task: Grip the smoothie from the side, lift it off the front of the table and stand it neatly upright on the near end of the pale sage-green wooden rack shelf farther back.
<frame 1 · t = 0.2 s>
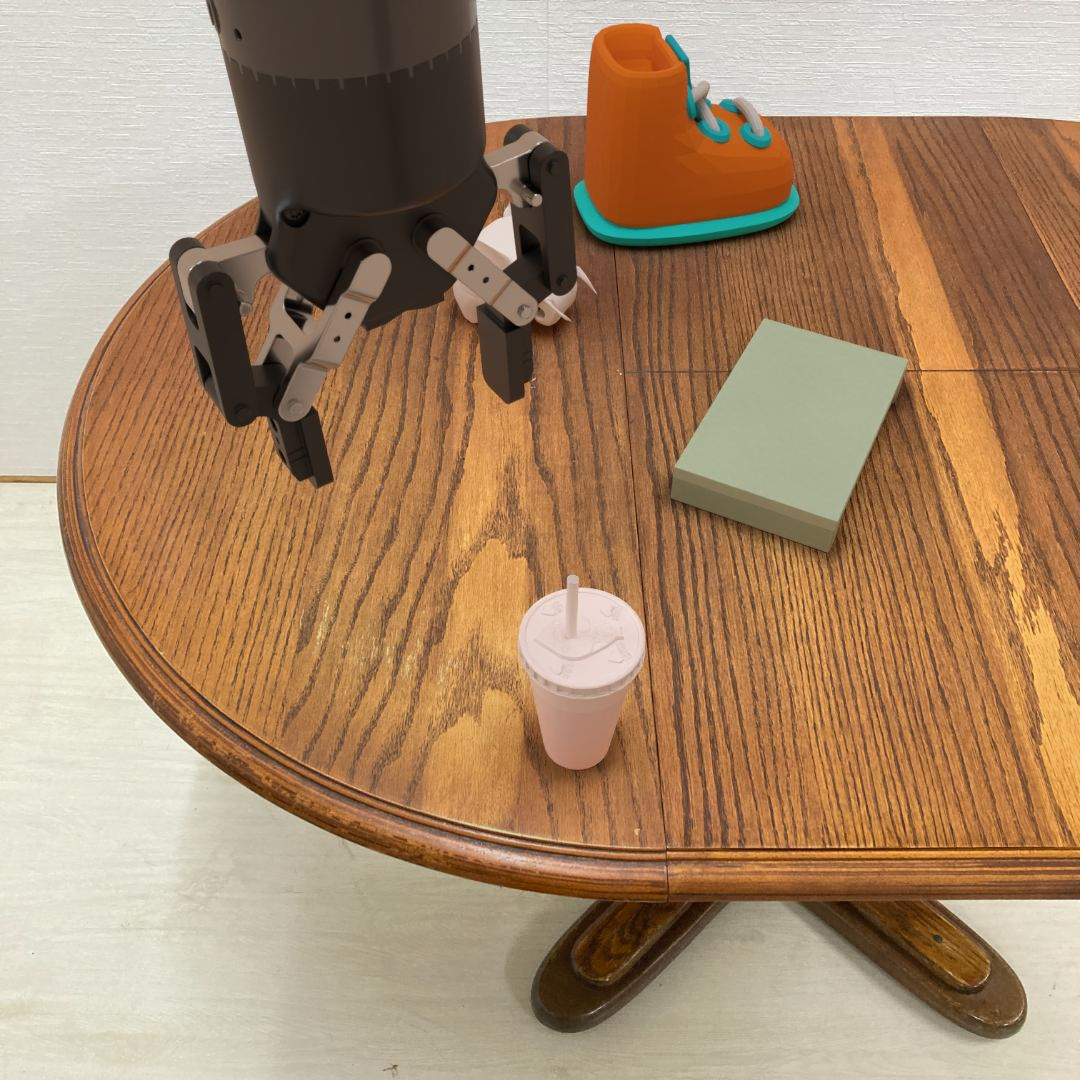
hand: (413, 431, 44), 24 cm above the table, tool pointing down, fingers open, 8 cm apart
smoothie: (576, 742, 62), on the table
elephant figurine: (517, 314, 89), on the table
rack shelf: (790, 442, 78), on the table
toy shoe: (685, 211, 99), on the table
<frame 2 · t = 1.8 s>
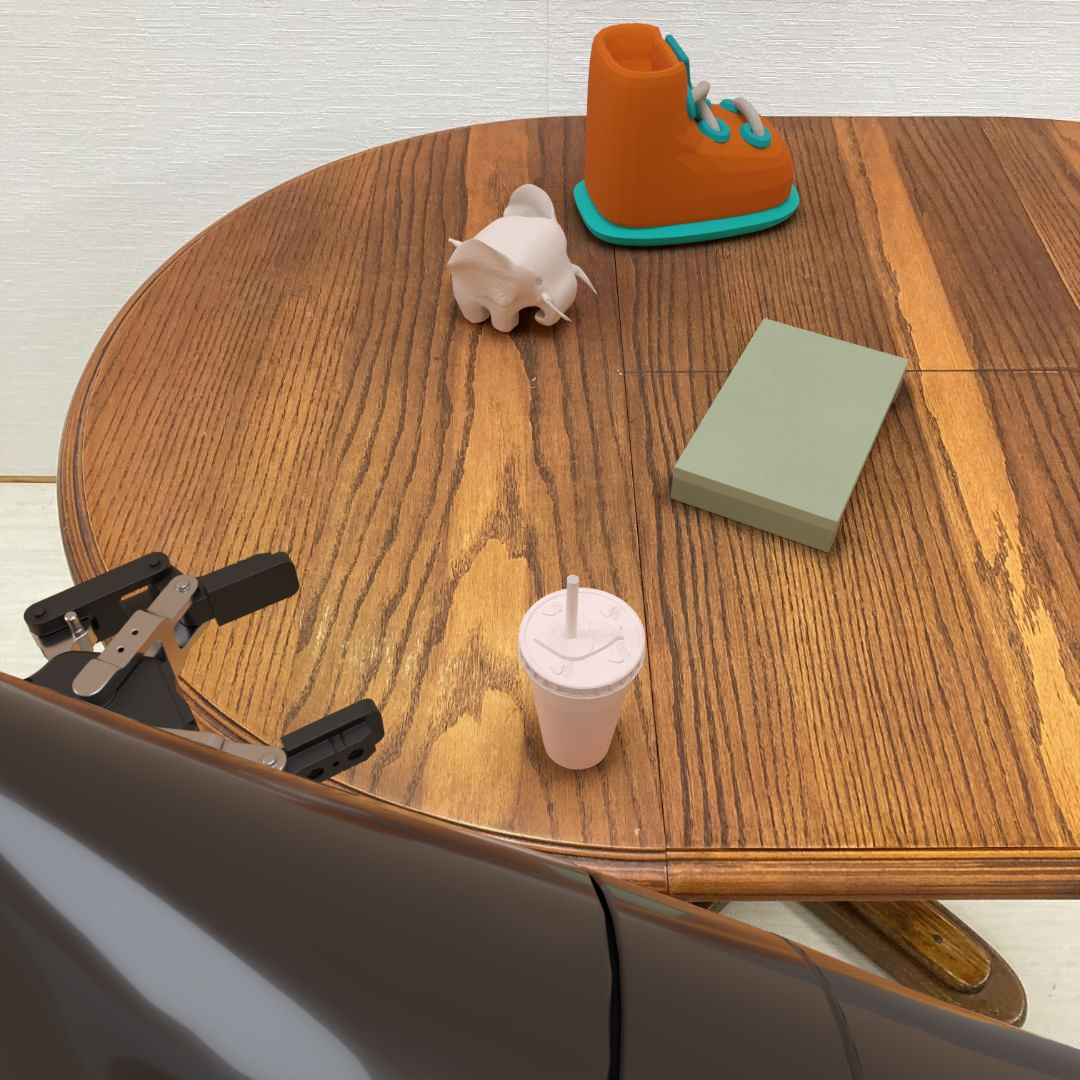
hand: (334, 639, 45), 17 cm above the table, tool horizontal, fingers open, 8 cm apart
nothing on the table moved.
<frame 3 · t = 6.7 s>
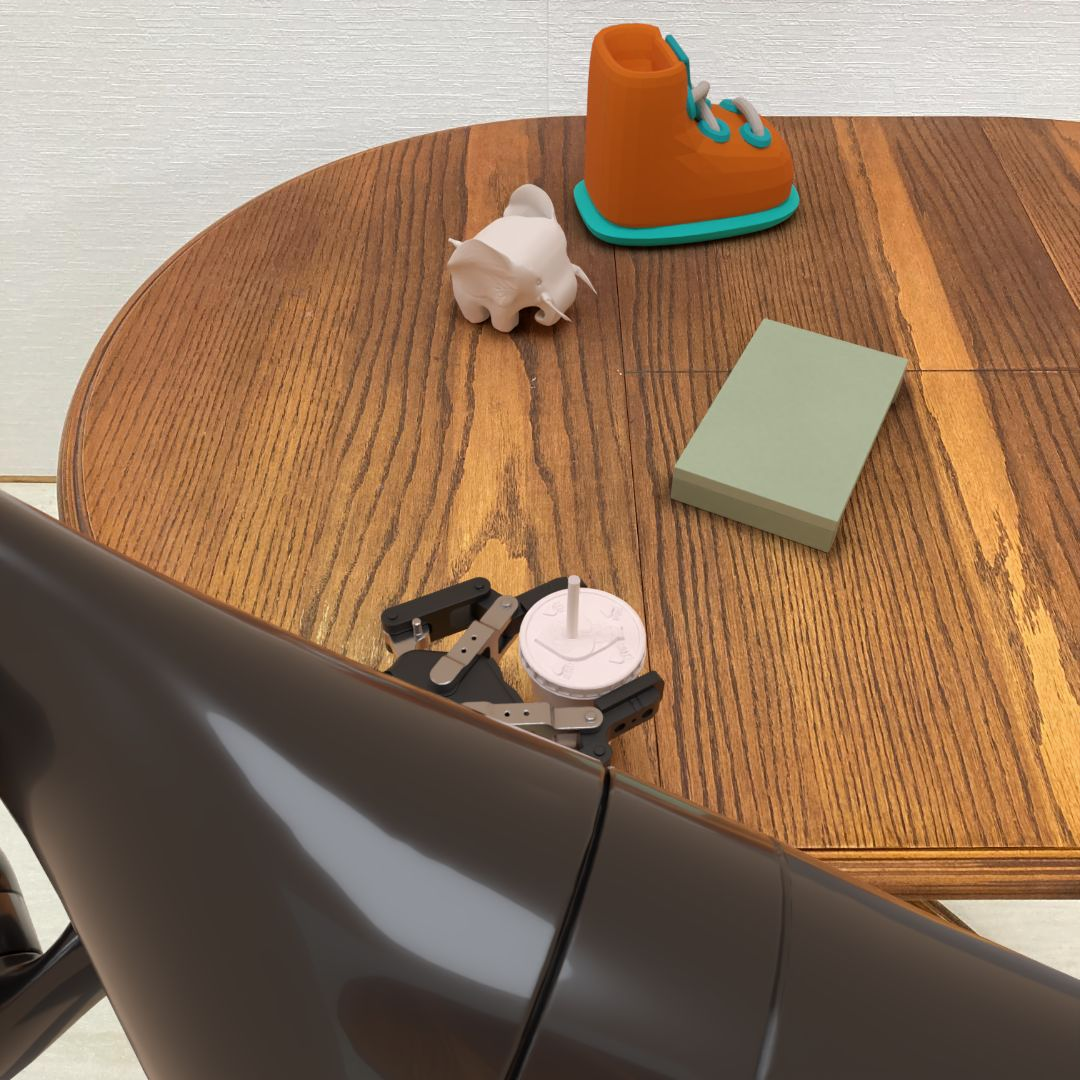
hand: (619, 636, 57), 8 cm above the table, tool horizontal, fingers closed on smoothie, 6 cm apart
smoothie: (576, 742, 62), on the table, touching gripper
everything else where it was.
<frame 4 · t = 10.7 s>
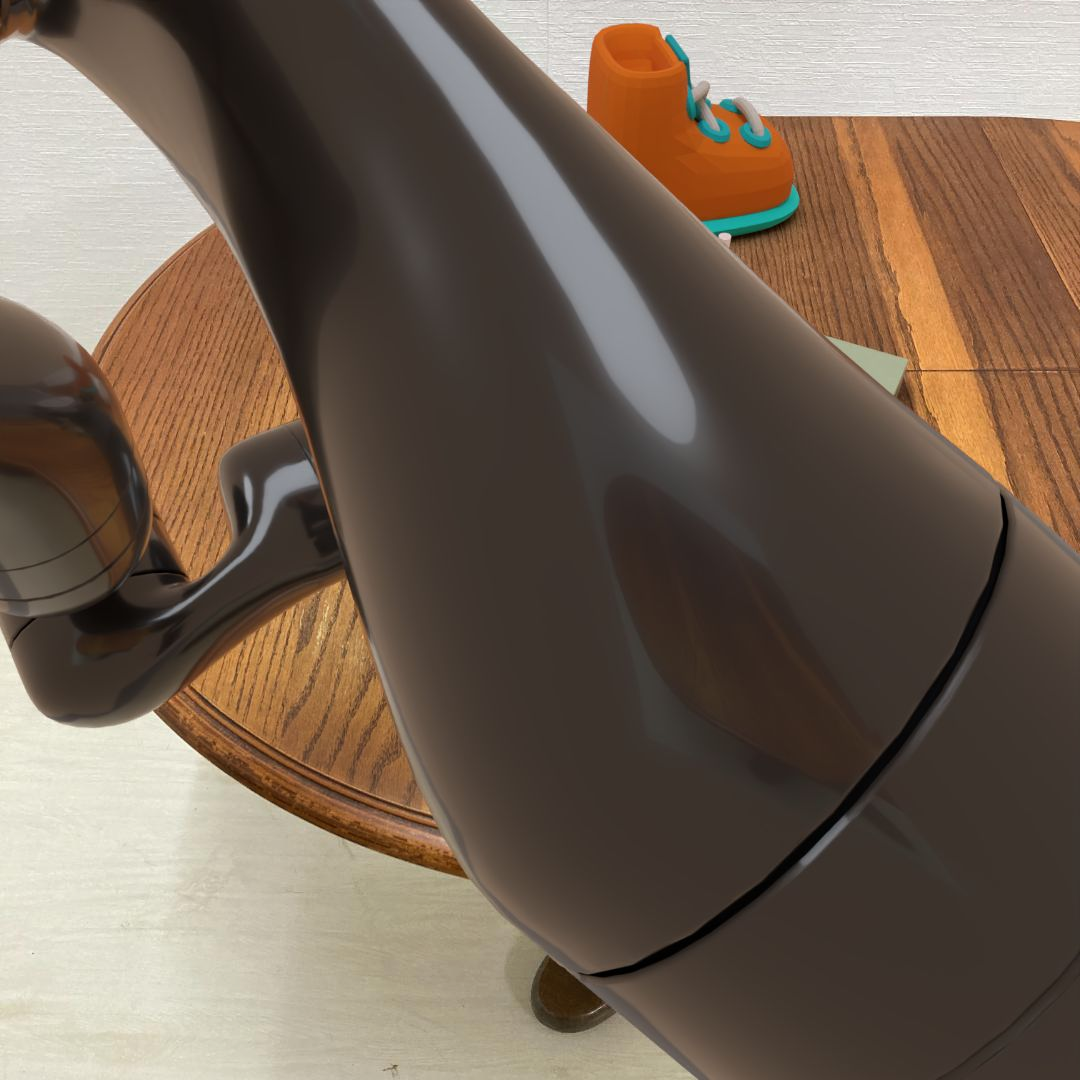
hand: (756, 328, 55), 20 cm above the table, tool horizontal, fingers closed on smoothie, 6 cm apart
smoothie: (699, 464, 60), point 11 cm above the table, touching gripper
everything else where it was.
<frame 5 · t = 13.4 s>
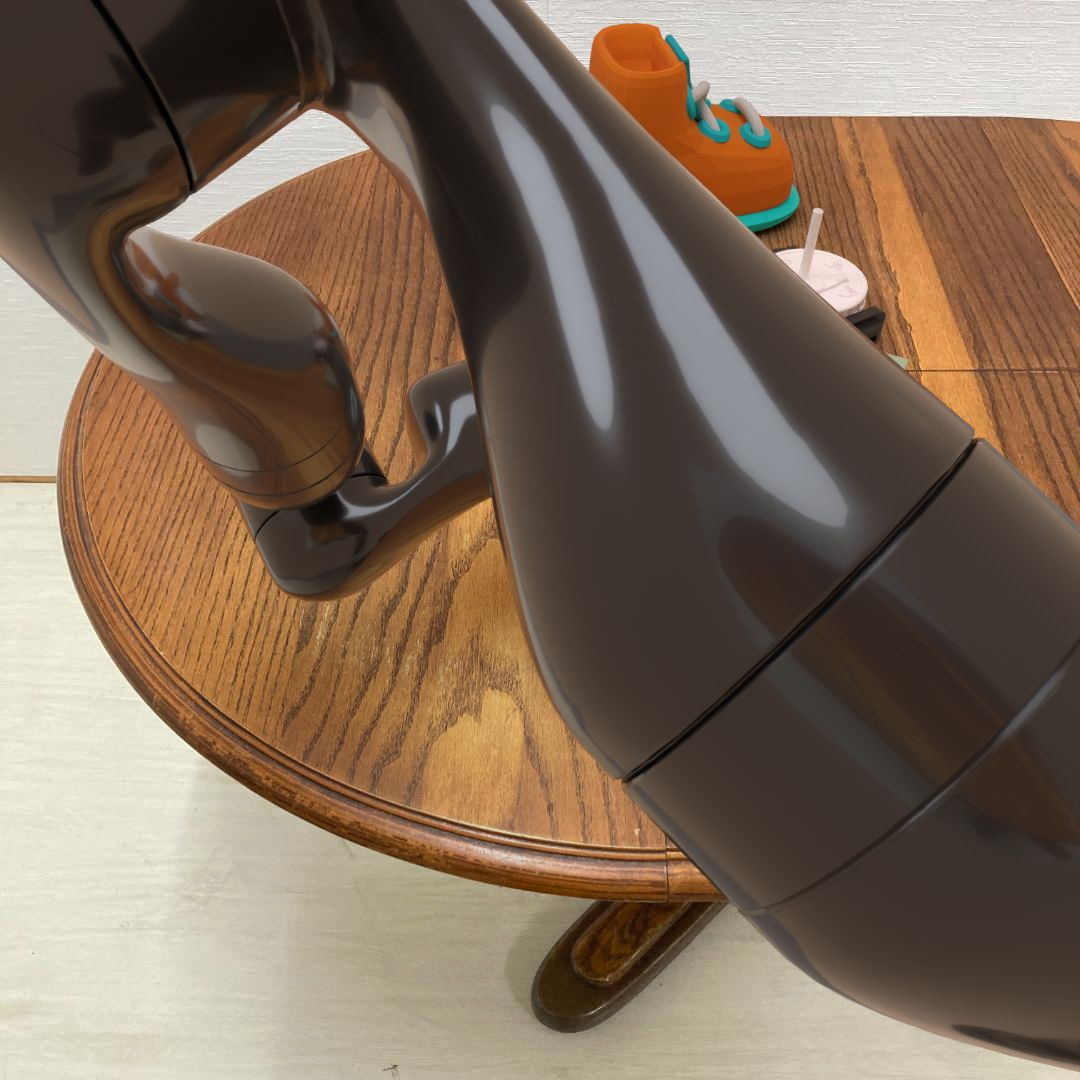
hand: (836, 291, 65), 15 cm above the table, tool horizontal, fingers closed on smoothie, 6 cm apart
smoothie: (781, 410, 70), point 7 cm above the table, touching gripper
everything else where it was.
when the fingers open (11 cm above the table, at t = 15.2 s): smoothie stays where it is, resting on rack shelf.
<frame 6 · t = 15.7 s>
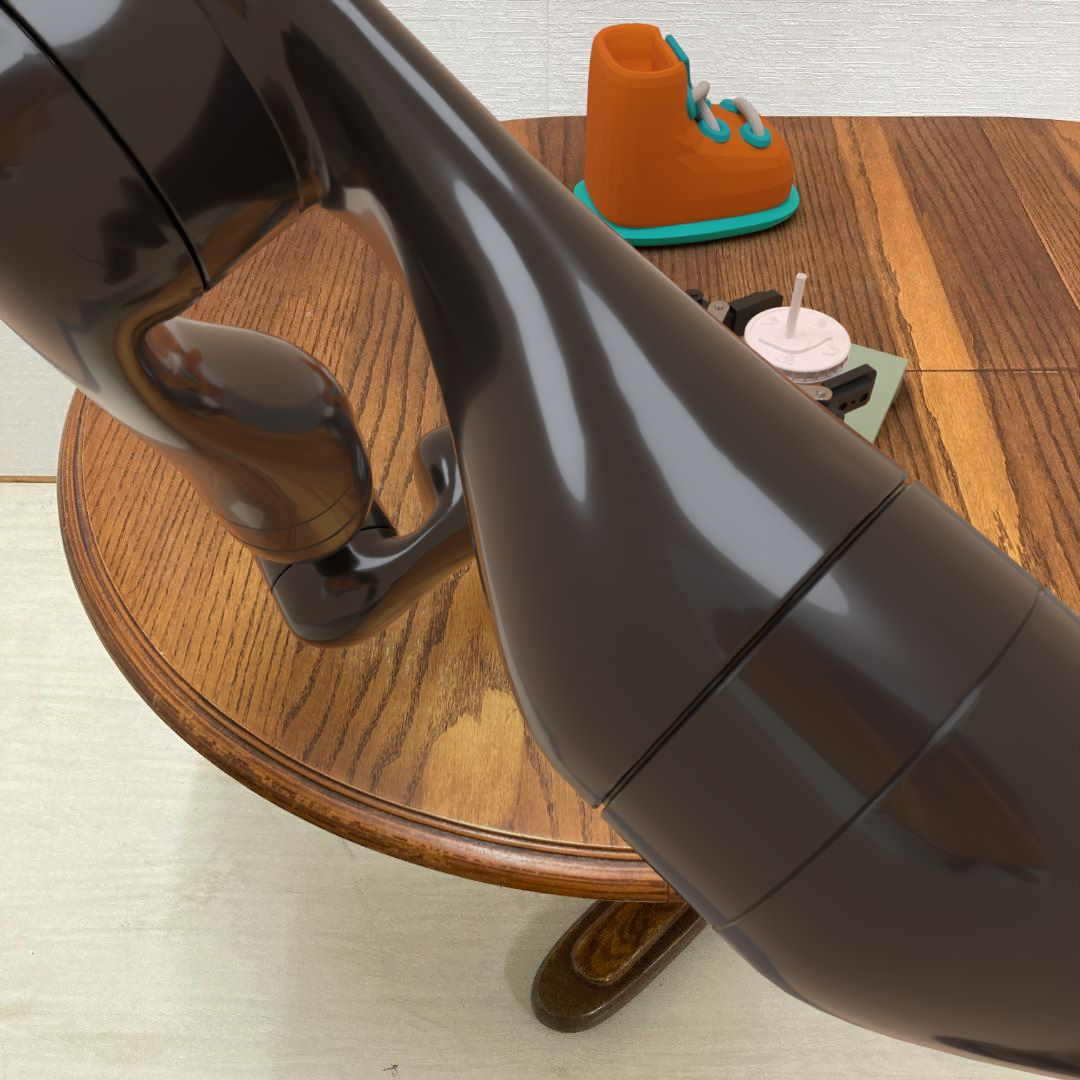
hand: (822, 340, 67), 12 cm above the table, tool horizontal, fingers open, 8 cm apart
smoothie: (771, 457, 73), point 3 cm above the table, touching rack shelf
everything else where it was.
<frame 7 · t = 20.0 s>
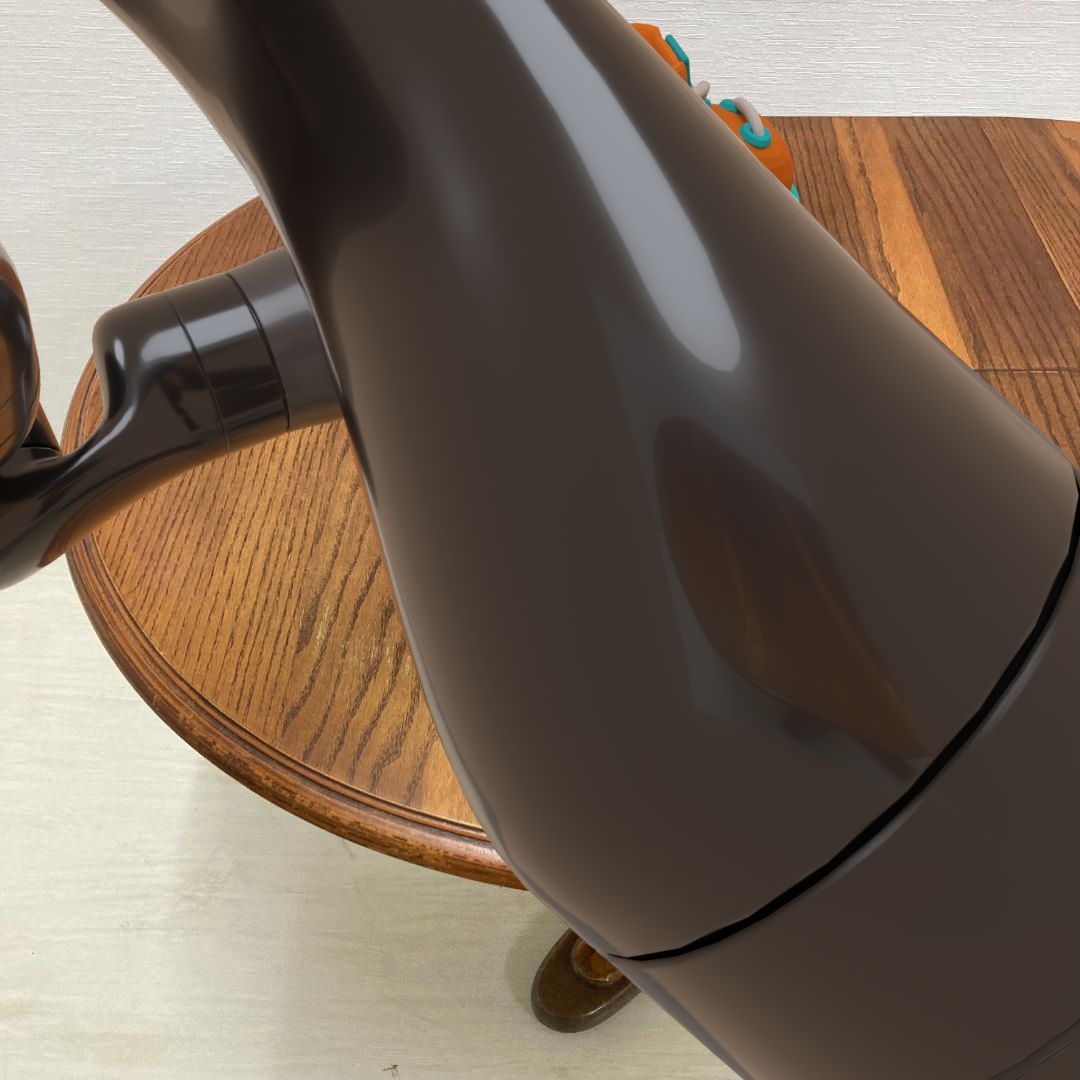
hand: (664, 215, 53), 24 cm above the table, tool horizontal, fingers open, 8 cm apart
nothing on the table moved.
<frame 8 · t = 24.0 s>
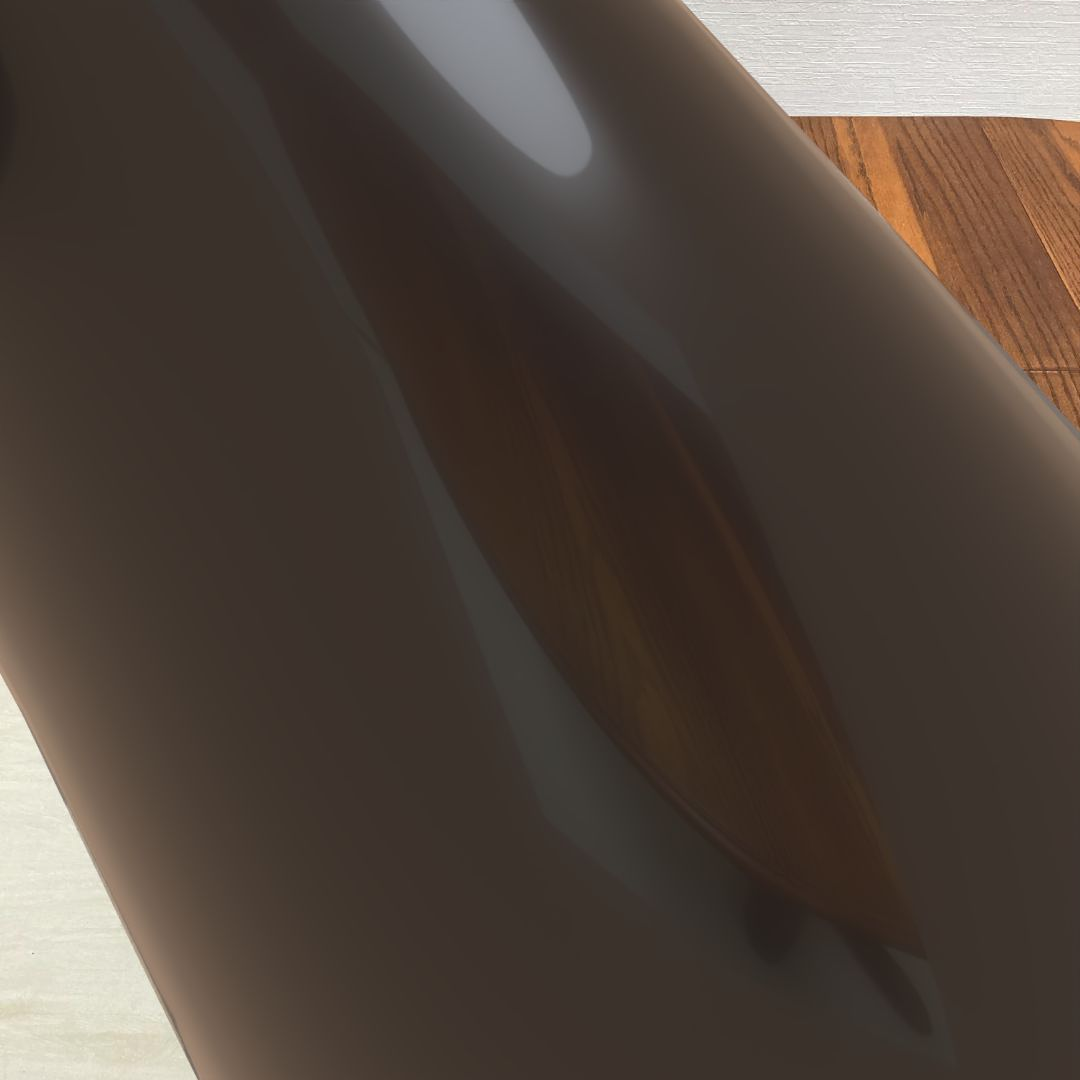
hand: (458, 270, 37), 32 cm above the table, tool horizontal, fingers open, 8 cm apart
nothing on the table moved.
at the end: smoothie 0.2 cm from the target spot on the rack shelf, point 2.8 cm above the rack shelf's base; smoothie tilted 0°; the gripper is holding nothing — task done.
